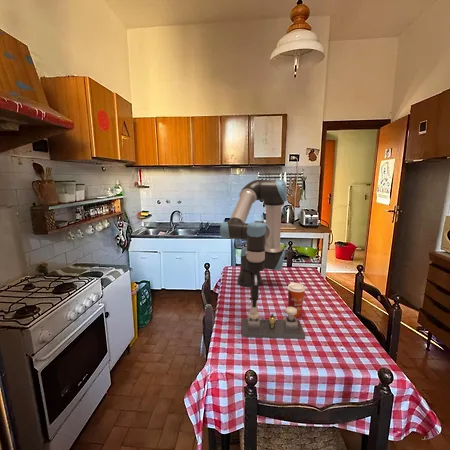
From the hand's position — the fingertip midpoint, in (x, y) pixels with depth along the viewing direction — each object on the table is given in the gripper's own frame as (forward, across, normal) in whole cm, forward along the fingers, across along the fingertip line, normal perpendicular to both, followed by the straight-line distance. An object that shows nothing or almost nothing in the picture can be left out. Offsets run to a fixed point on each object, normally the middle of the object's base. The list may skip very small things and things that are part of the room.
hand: (253, 312), depth 115 cm
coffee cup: (+8, -14, +21) cm, 27 cm away
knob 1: (+5, 0, 0) cm, 5 cm away
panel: (+8, 0, +8) cm, 11 cm away
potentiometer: (+6, 0, +8) cm, 10 cm away
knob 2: (+3, 0, +16) cm, 16 cm away
